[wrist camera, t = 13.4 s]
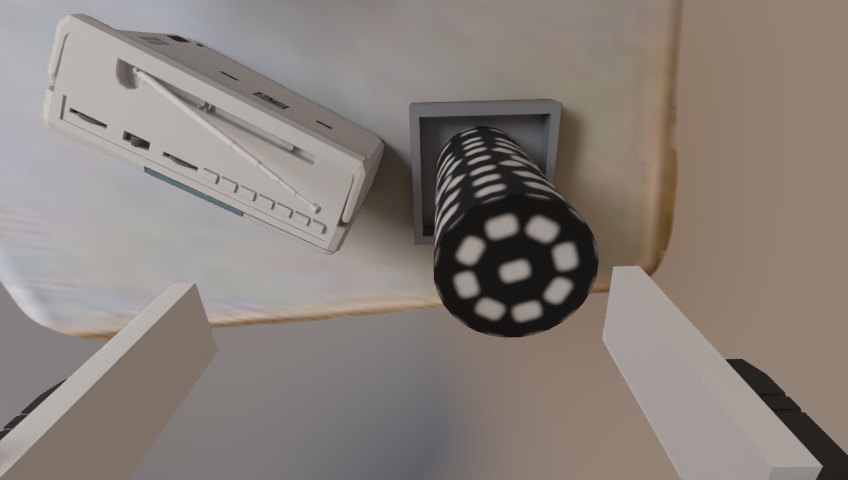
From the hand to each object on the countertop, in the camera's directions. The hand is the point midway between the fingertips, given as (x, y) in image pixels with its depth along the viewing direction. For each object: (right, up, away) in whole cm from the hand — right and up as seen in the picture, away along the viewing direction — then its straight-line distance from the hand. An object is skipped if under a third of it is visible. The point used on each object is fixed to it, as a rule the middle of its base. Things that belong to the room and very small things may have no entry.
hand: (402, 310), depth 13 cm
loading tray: (+6, +9, +27) cm, 29 cm away
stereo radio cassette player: (-13, +14, +26) cm, 32 cm away
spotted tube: (+6, +9, +26) cm, 28 cm away
